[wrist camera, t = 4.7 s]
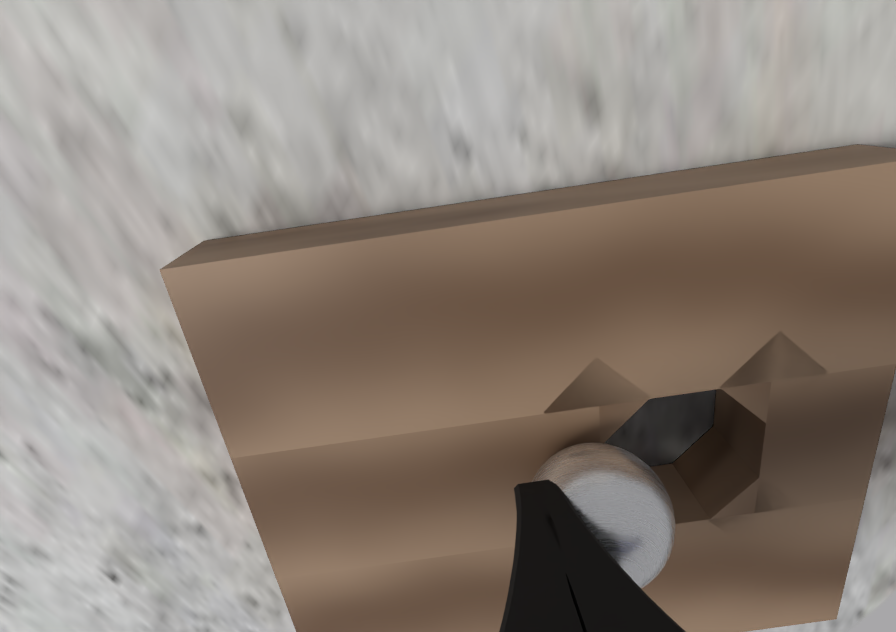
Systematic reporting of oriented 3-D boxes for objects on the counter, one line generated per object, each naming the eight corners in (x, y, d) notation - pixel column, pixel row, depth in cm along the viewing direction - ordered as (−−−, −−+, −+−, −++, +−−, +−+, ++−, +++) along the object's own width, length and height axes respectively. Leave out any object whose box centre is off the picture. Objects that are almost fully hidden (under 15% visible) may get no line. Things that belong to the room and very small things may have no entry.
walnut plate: (787, 557, 19) (836, 619, 17) (330, 620, 20) (318, 689, 17) (857, 144, 14) (946, 153, 11) (203, 241, 14) (159, 269, 11)
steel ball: (540, 631, 12) (533, 510, 15) (696, 625, 12) (655, 500, 15) (517, 536, 11) (513, 421, 14) (696, 523, 10) (651, 405, 13)
